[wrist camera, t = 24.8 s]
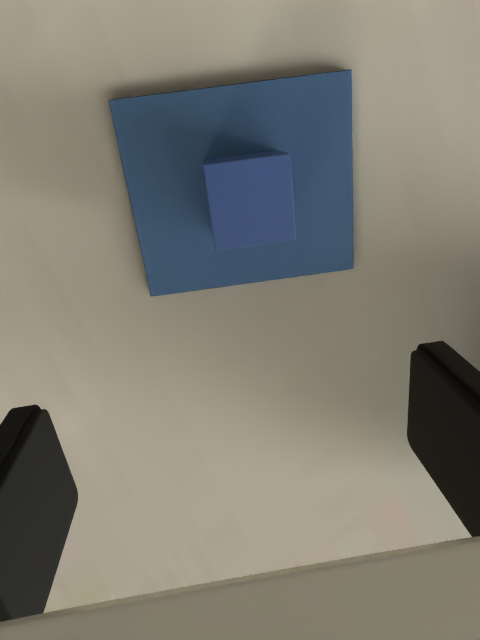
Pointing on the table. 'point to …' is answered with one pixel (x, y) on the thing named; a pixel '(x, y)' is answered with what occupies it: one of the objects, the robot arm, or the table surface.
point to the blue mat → (227, 140)
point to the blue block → (250, 199)
